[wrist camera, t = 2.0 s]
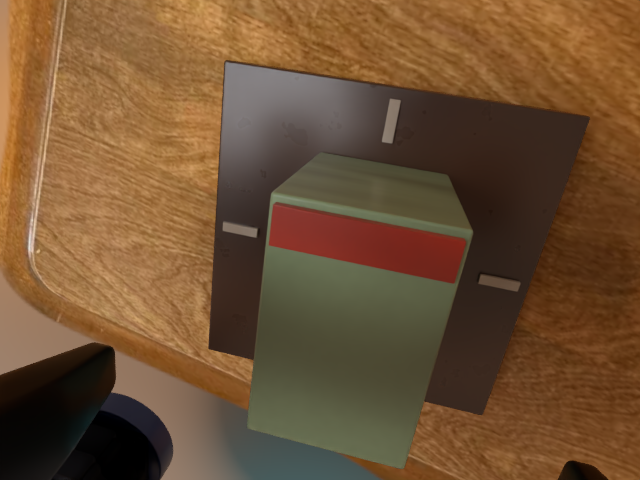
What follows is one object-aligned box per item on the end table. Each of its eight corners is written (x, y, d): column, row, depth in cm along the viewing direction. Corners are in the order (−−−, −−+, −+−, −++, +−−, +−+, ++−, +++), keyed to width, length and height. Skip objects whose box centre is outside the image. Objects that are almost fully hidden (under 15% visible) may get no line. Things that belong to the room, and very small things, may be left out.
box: (404, 345, 17) (404, 479, 11) (295, 320, 18) (242, 436, 12) (448, 174, 15) (476, 234, 9) (320, 151, 15) (266, 194, 9)
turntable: (475, 384, 20) (483, 419, 18) (225, 326, 21) (206, 351, 19) (569, 112, 15) (593, 117, 13) (243, 62, 17) (222, 59, 15)
